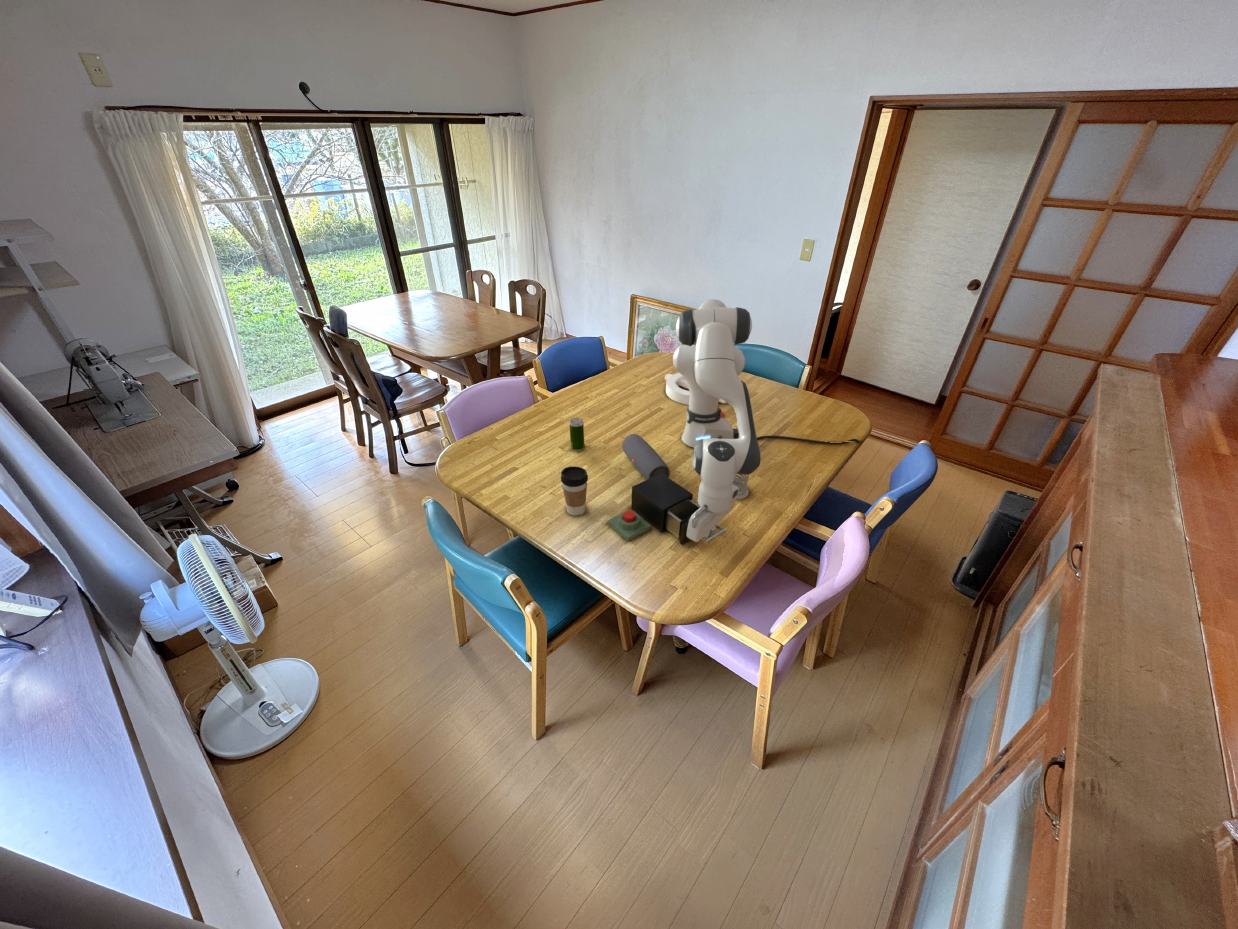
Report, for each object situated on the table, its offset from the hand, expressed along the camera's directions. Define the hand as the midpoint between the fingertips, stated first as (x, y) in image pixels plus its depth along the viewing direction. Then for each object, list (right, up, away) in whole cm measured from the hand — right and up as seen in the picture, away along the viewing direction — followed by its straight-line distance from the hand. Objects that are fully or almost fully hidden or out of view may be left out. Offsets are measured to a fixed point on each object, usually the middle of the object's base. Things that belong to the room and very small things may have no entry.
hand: (708, 535), depth 140 cm
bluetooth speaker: (-17, +18, +36) cm, 43 cm away
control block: (-23, +1, +10) cm, 25 cm away
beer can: (-42, +27, +49) cm, 70 cm away
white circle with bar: (+10, +55, +91) cm, 107 cm away
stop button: (-23, +4, +9) cm, 25 cm away
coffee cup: (-40, +6, +17) cm, 44 cm away
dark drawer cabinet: (-13, +5, +16) cm, 21 cm away
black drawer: (-5, 0, +7) cm, 9 cm away
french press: (+13, +12, +27) cm, 32 cm away
